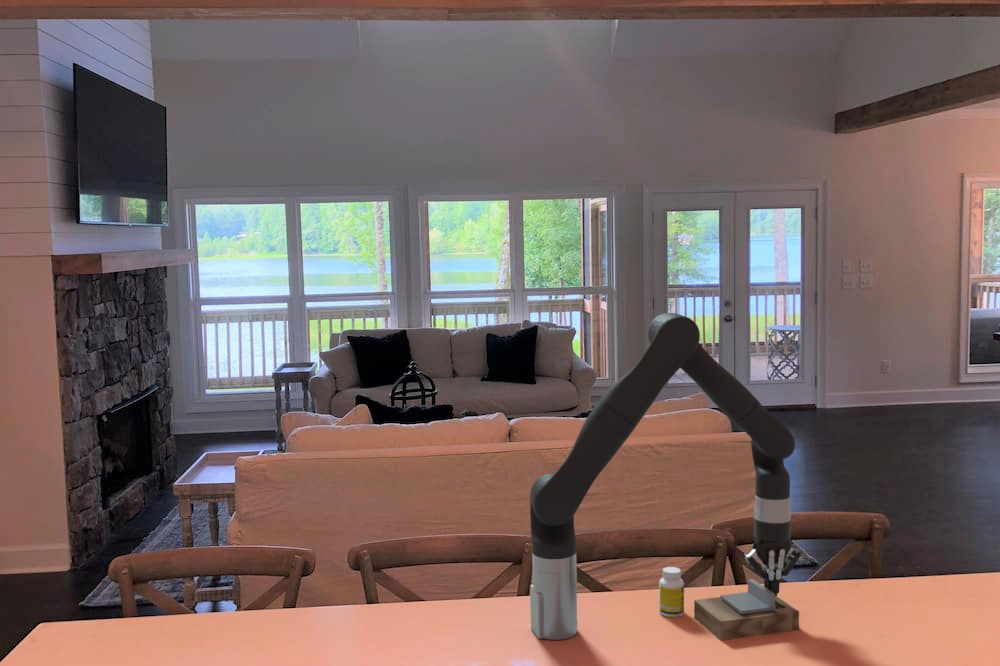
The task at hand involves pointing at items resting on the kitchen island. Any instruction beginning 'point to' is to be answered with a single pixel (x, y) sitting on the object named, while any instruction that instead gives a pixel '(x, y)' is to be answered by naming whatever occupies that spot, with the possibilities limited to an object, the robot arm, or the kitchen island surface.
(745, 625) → the socket board
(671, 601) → the supplement bottle
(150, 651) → the kitchen island surface
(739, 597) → the panel
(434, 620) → the kitchen island surface
